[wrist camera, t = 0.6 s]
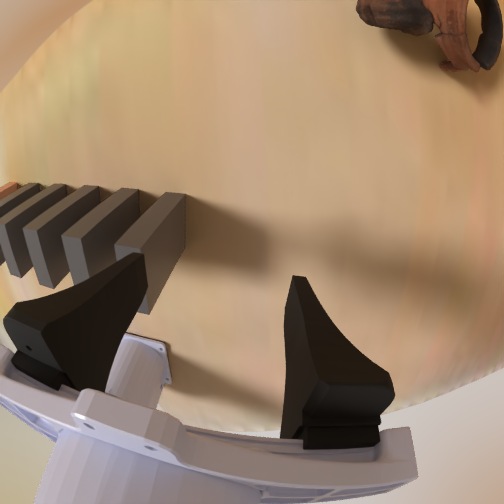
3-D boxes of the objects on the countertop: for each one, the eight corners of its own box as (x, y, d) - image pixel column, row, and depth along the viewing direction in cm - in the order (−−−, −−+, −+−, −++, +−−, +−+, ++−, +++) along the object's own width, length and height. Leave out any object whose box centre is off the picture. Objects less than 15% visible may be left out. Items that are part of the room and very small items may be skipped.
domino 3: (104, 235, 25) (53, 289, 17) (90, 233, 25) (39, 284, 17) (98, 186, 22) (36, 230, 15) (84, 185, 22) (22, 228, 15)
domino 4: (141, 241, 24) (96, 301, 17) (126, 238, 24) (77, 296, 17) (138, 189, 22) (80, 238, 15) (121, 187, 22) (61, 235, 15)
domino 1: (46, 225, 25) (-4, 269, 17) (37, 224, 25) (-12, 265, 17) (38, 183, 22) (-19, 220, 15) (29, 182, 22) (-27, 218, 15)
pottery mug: (413, -46, 9) (498, -31, 3) (435, 41, 16) (509, 74, 11) (301, -33, 10) (399, -42, 5) (345, 77, 17) (430, 120, 12)
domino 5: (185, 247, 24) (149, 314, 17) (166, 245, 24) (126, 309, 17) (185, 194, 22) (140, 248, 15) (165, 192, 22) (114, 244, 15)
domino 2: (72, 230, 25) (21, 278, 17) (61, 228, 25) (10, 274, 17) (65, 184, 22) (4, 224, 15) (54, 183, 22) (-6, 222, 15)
